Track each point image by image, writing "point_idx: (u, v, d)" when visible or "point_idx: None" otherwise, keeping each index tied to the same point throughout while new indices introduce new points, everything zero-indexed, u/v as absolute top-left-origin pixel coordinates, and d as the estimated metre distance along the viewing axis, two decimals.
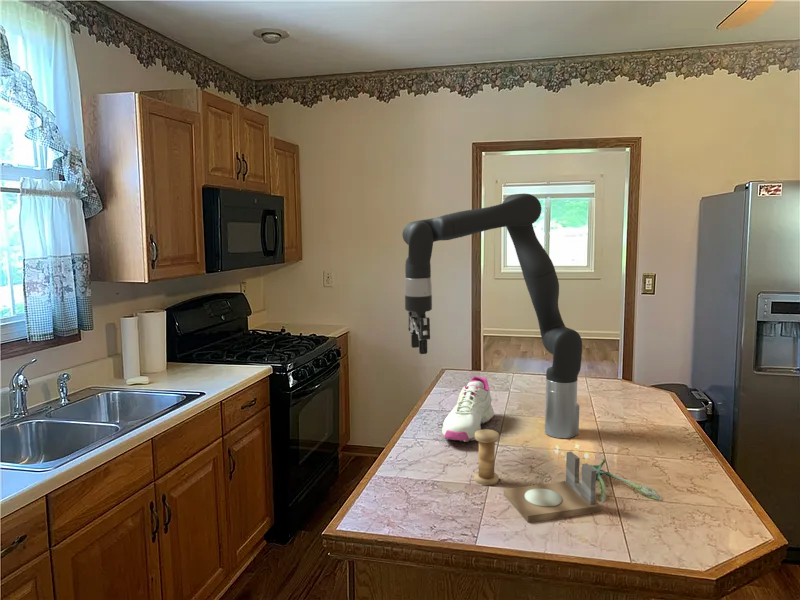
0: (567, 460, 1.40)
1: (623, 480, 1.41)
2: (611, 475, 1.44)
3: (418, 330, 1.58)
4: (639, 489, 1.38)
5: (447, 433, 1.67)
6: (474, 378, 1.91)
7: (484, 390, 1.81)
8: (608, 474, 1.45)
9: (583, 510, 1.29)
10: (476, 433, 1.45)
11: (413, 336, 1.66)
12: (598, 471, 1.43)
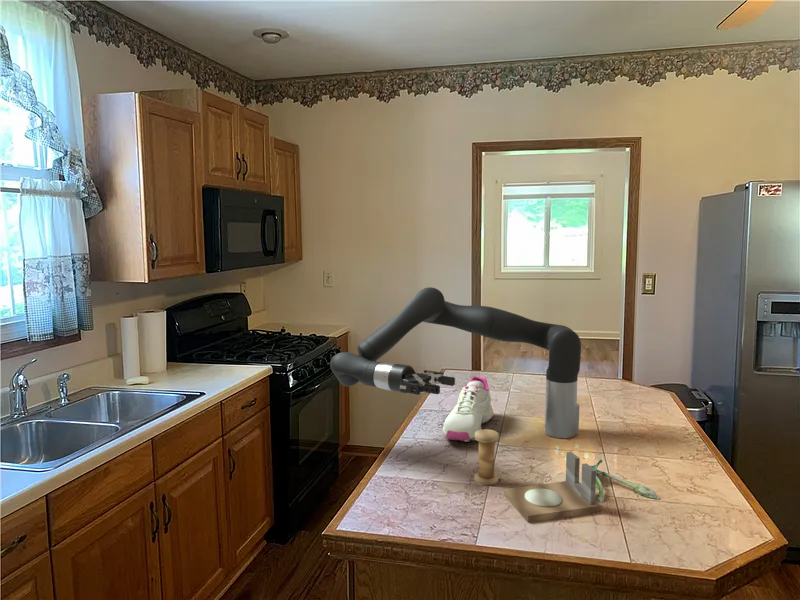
0: (567, 460, 1.40)
1: (620, 480, 1.42)
2: (607, 475, 1.44)
3: None
4: (636, 488, 1.38)
5: (448, 433, 1.67)
6: (473, 378, 1.91)
7: (484, 390, 1.82)
8: (604, 474, 1.45)
9: (583, 510, 1.29)
10: (476, 433, 1.45)
11: (442, 382, 1.54)
12: None
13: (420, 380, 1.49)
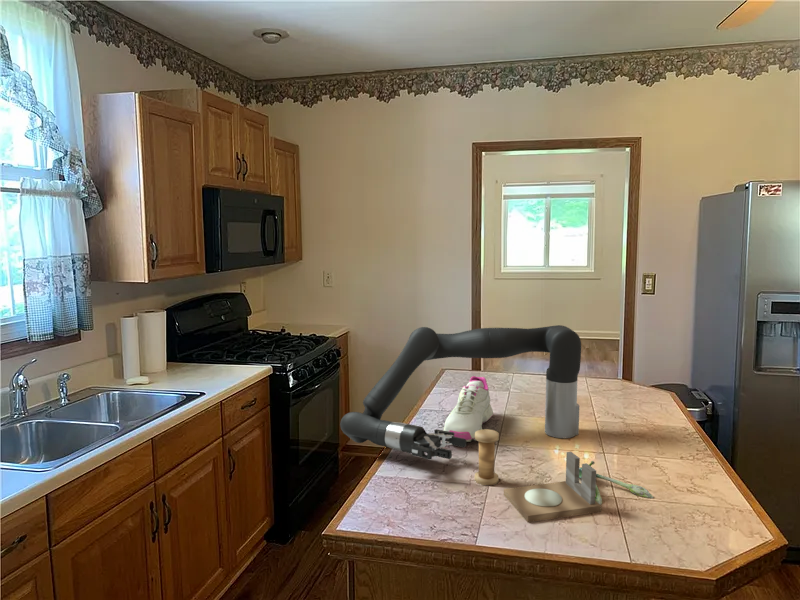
0: (567, 460, 1.40)
1: (613, 480, 1.41)
2: (600, 476, 1.44)
3: None
4: (630, 488, 1.39)
5: None
6: (473, 378, 1.91)
7: (484, 390, 1.82)
8: (596, 475, 1.44)
9: (583, 510, 1.29)
10: (476, 433, 1.45)
11: (453, 443, 1.55)
12: None
13: (432, 444, 1.50)
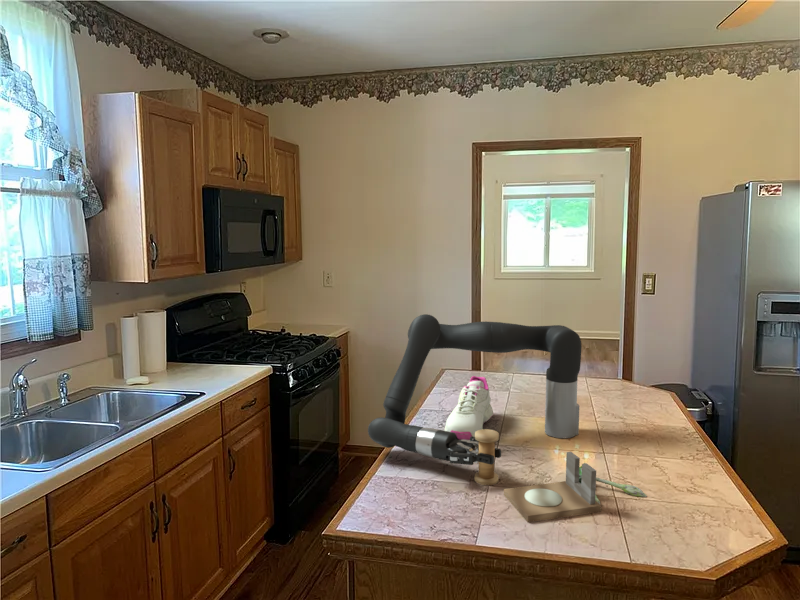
0: (567, 460, 1.40)
1: (605, 481, 1.41)
2: None
3: (468, 459, 1.46)
4: (624, 488, 1.39)
5: None
6: (473, 378, 1.91)
7: (485, 389, 1.82)
8: None
9: (583, 510, 1.29)
10: (476, 433, 1.45)
11: None
12: (581, 476, 1.41)
13: (470, 449, 1.45)
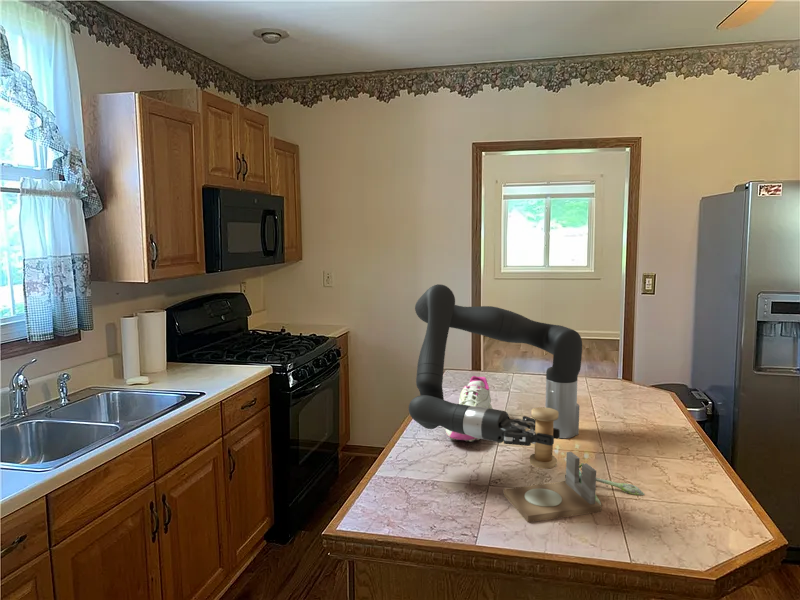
0: (567, 460, 1.40)
1: (603, 481, 1.41)
2: None
3: (523, 440, 1.32)
4: (622, 487, 1.39)
5: (453, 433, 1.66)
6: (473, 378, 1.91)
7: (485, 389, 1.82)
8: None
9: (583, 510, 1.29)
10: (533, 411, 1.31)
11: None
12: (580, 476, 1.41)
13: (526, 429, 1.31)
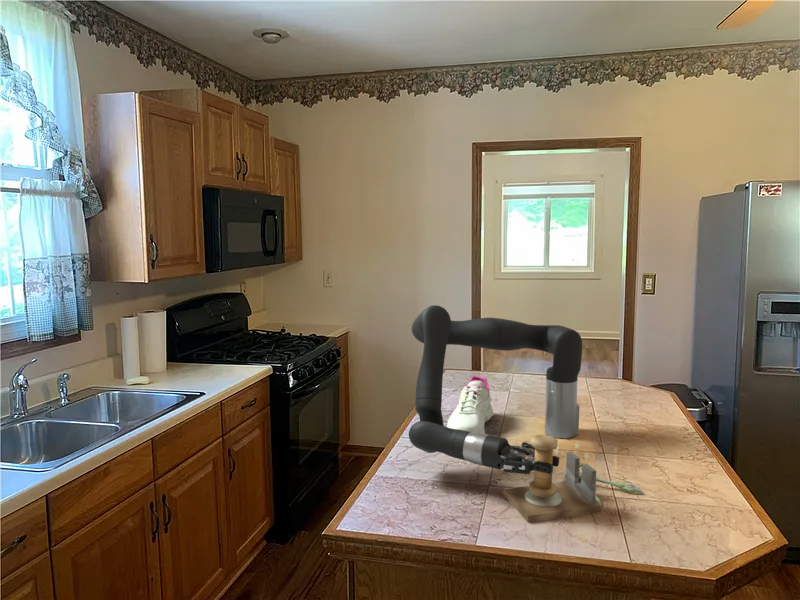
0: (567, 460, 1.40)
1: (603, 480, 1.42)
2: None
3: (523, 468, 1.33)
4: (622, 487, 1.40)
5: None
6: (473, 378, 1.91)
7: (486, 389, 1.82)
8: None
9: (583, 510, 1.29)
10: (532, 439, 1.32)
11: None
12: (580, 476, 1.41)
13: (526, 457, 1.32)
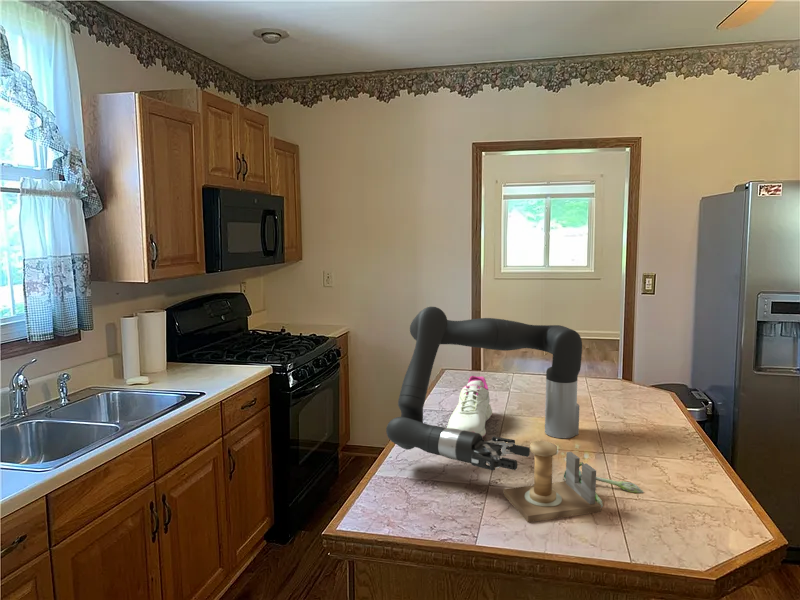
0: (567, 460, 1.40)
1: (602, 479, 1.42)
2: None
3: None
4: (621, 485, 1.40)
5: None
6: (472, 377, 1.92)
7: (485, 389, 1.82)
8: None
9: (583, 510, 1.29)
10: (532, 445, 1.32)
11: (515, 452, 1.40)
12: (580, 475, 1.41)
13: (494, 453, 1.35)
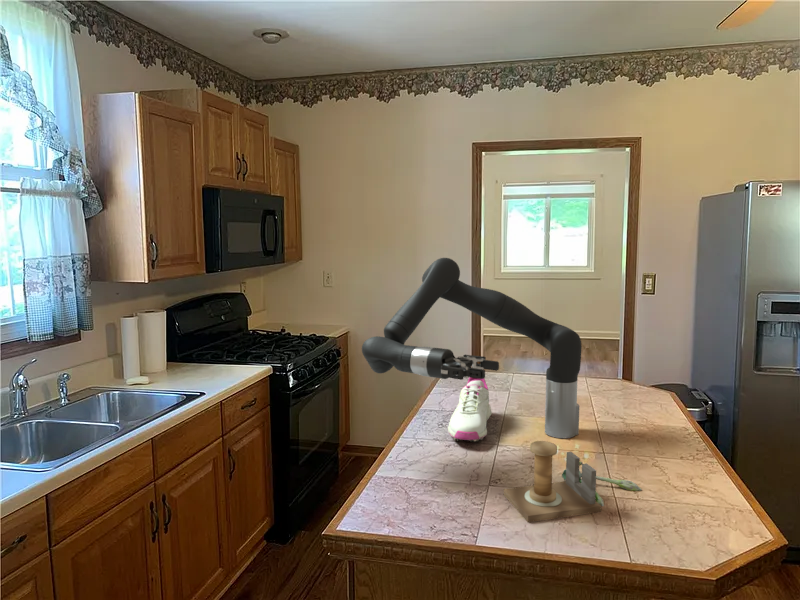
0: (567, 460, 1.40)
1: (601, 478, 1.43)
2: None
3: None
4: (620, 484, 1.41)
5: (458, 433, 1.66)
6: None
7: (485, 389, 1.83)
8: None
9: (583, 510, 1.29)
10: (532, 445, 1.32)
11: (485, 367, 1.43)
12: (579, 475, 1.41)
13: (463, 364, 1.38)
